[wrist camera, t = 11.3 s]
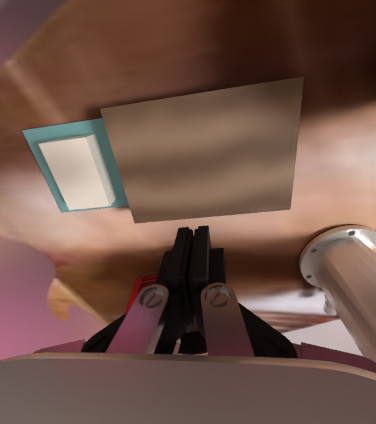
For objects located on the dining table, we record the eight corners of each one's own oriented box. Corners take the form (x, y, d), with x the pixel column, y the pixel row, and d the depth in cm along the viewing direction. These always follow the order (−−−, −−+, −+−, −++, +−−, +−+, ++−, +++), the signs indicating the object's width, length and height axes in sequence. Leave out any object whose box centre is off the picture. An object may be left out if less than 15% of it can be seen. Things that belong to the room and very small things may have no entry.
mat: (137, 203, 32) (136, 204, 31) (63, 211, 33) (61, 212, 33) (112, 116, 26) (111, 116, 25) (24, 129, 27) (21, 130, 27)
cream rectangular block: (69, 210, 29) (78, 202, 32) (109, 206, 29) (116, 198, 31) (38, 144, 25) (51, 140, 27) (85, 137, 24) (95, 133, 27)
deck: (279, 195, 30) (290, 209, 26) (142, 209, 32) (134, 223, 28) (288, 78, 23) (304, 76, 19) (113, 106, 25) (99, 108, 22)
